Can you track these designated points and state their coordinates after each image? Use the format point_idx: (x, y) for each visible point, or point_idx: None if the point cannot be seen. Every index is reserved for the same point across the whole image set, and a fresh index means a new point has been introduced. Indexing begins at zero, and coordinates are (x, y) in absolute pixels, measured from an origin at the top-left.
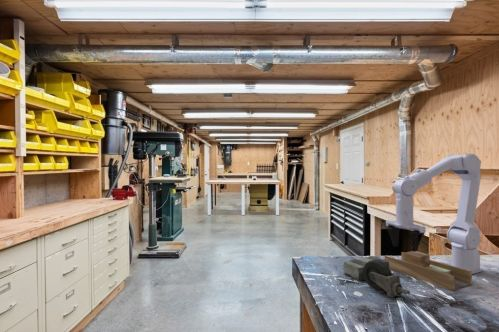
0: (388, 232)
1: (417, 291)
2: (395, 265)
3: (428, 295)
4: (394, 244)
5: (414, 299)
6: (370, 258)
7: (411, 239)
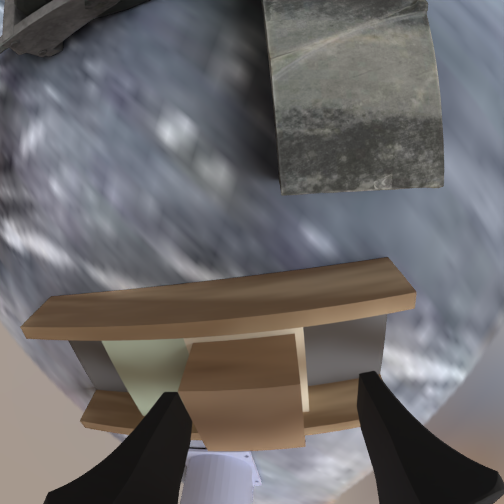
0: (460, 458)
1: (56, 155)
2: (320, 283)
3: (25, 171)
4: (363, 388)
5: (15, 89)
6: (412, 124)
7: (129, 471)
